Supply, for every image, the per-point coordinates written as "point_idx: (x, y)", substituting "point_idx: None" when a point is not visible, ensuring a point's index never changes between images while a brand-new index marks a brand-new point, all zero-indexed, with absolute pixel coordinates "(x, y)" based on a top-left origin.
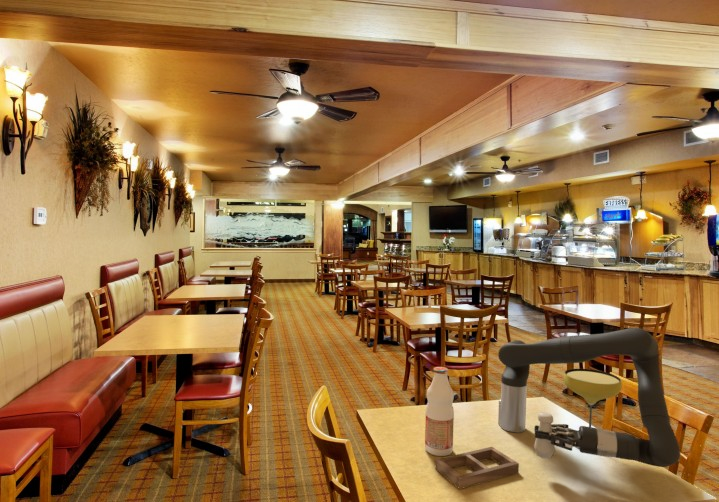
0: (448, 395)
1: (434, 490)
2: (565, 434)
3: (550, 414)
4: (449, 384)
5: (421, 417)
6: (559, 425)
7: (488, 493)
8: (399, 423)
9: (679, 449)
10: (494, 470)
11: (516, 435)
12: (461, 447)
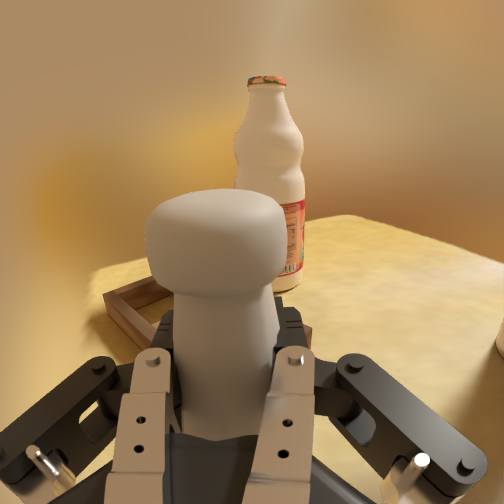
0: (244, 136)
1: (105, 290)
2: (117, 456)
3: (227, 210)
4: (272, 115)
5: (395, 247)
6: (402, 416)
7: (91, 352)
8: (342, 236)
9: None
10: (150, 342)
11: (497, 371)
12: (312, 301)
